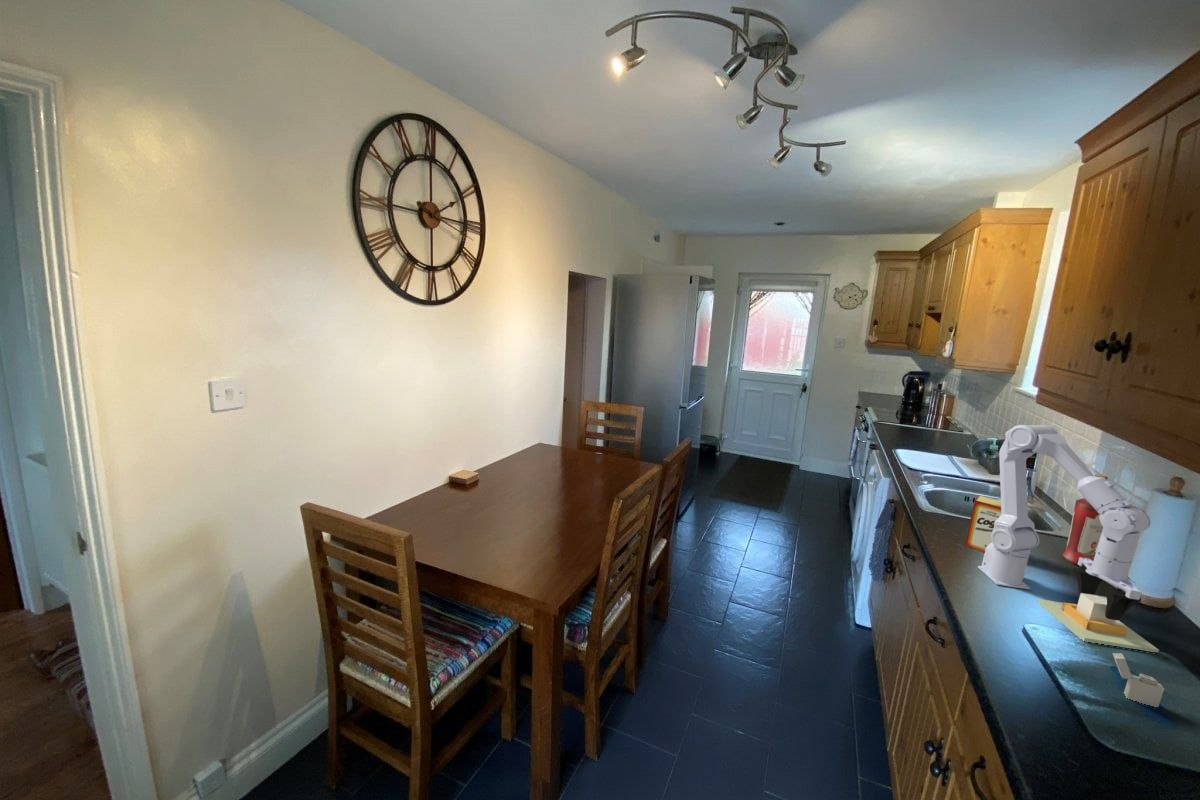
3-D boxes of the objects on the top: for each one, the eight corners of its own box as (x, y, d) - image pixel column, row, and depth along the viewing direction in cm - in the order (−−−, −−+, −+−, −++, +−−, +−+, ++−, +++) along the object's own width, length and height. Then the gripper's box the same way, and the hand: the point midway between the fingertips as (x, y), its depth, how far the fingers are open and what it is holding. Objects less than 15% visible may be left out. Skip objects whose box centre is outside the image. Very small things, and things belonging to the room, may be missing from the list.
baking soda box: (964, 546, 150) (975, 499, 147) (968, 540, 154) (979, 494, 151) (1002, 558, 143) (1014, 509, 140) (1005, 552, 147) (1017, 504, 144)
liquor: (1076, 556, 147) (1099, 472, 142) (1101, 569, 140) (1127, 480, 135) (1053, 555, 147) (1076, 470, 141) (1077, 568, 140) (1102, 479, 134)
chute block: (1074, 615, 114) (1080, 593, 113) (1098, 619, 113) (1105, 596, 112) (1087, 625, 111) (1094, 602, 109) (1112, 629, 110) (1119, 606, 108)
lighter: (1154, 703, 89) (1166, 666, 88) (1158, 709, 88) (1170, 672, 86) (1101, 685, 93) (1112, 650, 92) (1104, 690, 92) (1115, 655, 90)
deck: (1037, 602, 121) (1040, 591, 120) (1101, 612, 118) (1104, 601, 118) (1083, 641, 106) (1087, 630, 106) (1157, 653, 104) (1161, 642, 103)
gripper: (1069, 539, 116) (1056, 588, 119) (1120, 570, 102) (1103, 625, 105) (1103, 543, 115) (1088, 593, 118) (1159, 575, 101) (1141, 631, 104)
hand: (1098, 608), depth 111 cm, fingers open, 7 cm apart
